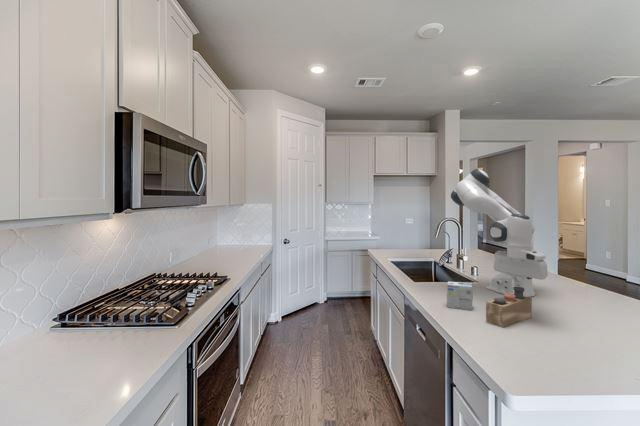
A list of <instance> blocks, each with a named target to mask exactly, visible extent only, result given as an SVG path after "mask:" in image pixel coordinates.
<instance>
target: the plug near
mask: <svg viewBox="0 0 640 426" xmlns="http://www.w3.org/2000/svg"><path fill="white" fill-rule="evenodd" d="M493 300H494V301H495V304H499V305H505V303H506V300H505V299H503V298H502V297H494V299H493Z"/></svg>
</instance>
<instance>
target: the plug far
mask: <svg viewBox="0 0 640 426" xmlns="http://www.w3.org/2000/svg"><path fill="white" fill-rule="evenodd" d="M513 290H514V295H515V298H517V299H521V300H522V299H523V292H524V288H522V287H513Z"/></svg>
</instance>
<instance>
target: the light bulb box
mask: <svg viewBox="0 0 640 426" xmlns="http://www.w3.org/2000/svg"><path fill="white" fill-rule="evenodd" d="M446 284H447V285H446V307H447V308H453V309H459V310H466V311H468V310H469V311H473V283H472V282H471V283H469V282H457V281H447V283H446Z"/></svg>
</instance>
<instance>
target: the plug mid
mask: <svg viewBox="0 0 640 426" xmlns="http://www.w3.org/2000/svg"><path fill="white" fill-rule="evenodd" d="M503 297H505V300H506V301H509V302H514V299H515V295H513V294H503Z"/></svg>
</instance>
